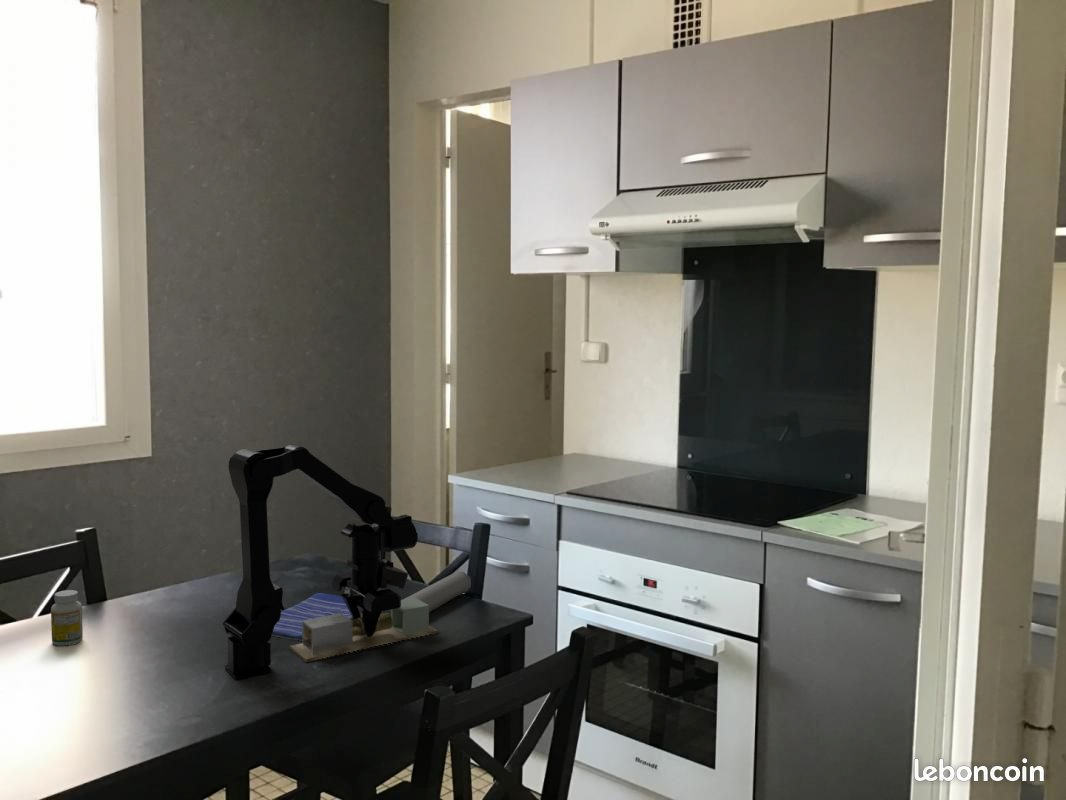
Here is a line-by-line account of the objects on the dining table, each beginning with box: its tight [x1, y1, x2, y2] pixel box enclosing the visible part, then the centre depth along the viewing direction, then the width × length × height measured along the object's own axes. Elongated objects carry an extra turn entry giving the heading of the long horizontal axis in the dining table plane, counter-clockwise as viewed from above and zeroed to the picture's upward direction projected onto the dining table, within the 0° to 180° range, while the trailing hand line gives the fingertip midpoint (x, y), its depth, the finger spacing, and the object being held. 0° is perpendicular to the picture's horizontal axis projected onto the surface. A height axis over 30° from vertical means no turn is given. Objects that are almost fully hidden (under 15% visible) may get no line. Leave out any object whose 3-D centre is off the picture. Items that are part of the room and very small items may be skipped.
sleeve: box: [301, 613, 353, 655], centre depth 172 cm, size 8×5×5 cm, turn 126°
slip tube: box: [309, 612, 392, 643], centre depth 175 cm, size 16×4×4 cm, turn 126°
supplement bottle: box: [50, 589, 84, 647], centre depth 173 cm, size 5×5×10 cm
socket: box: [390, 598, 430, 636], centre depth 182 cm, size 6×6×5 cm
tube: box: [402, 570, 472, 613], centre depth 198 cm, size 5×5×25 cm
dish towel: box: [271, 592, 353, 642], centre depth 188 cm, size 17×24×3 cm
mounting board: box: [289, 625, 439, 663], centre depth 177 cm, size 28×8×1 cm, turn 126°
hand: (365, 633), depth 176 cm, fingers closed on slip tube, 4 cm apart
